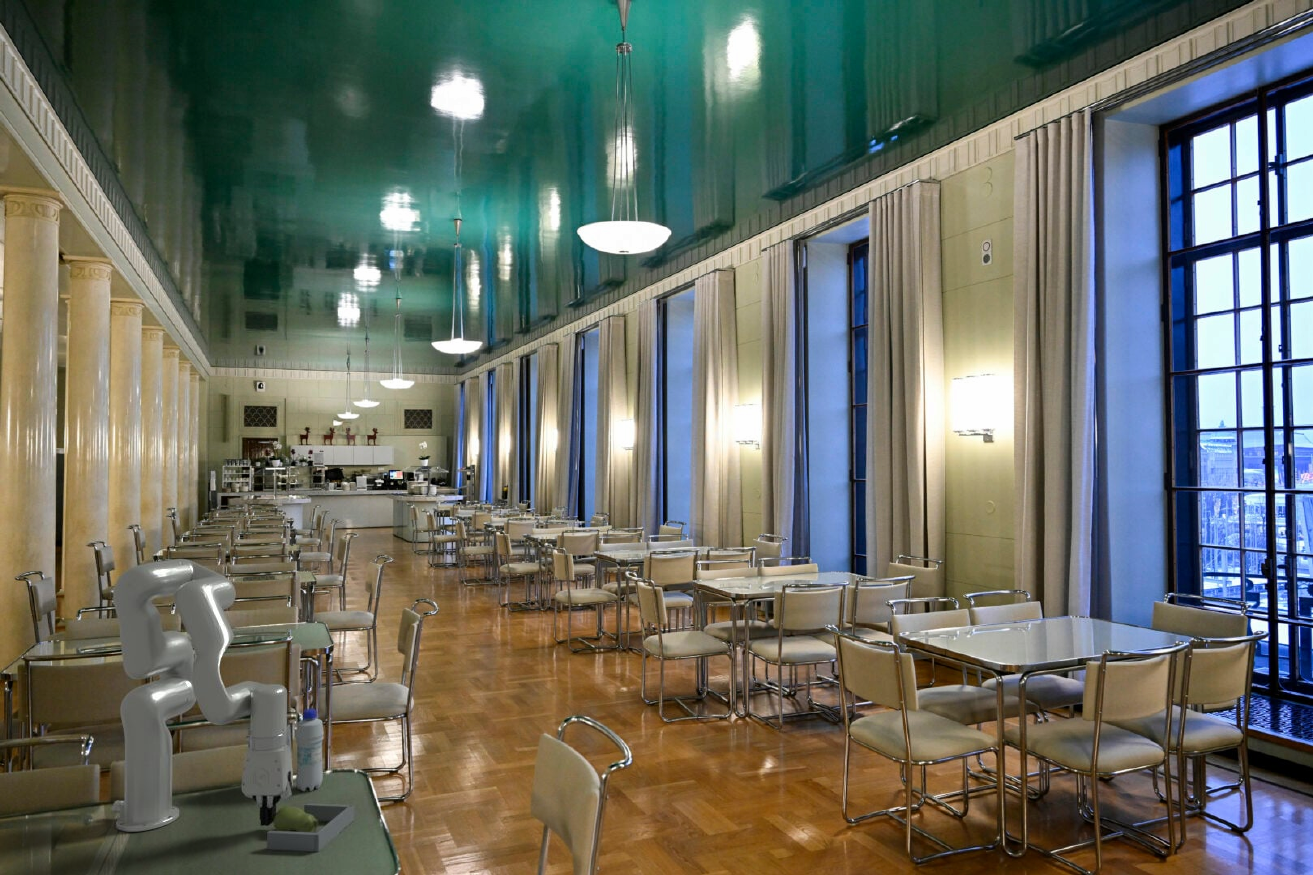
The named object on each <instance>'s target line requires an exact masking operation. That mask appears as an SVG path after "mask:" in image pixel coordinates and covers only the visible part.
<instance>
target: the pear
mask: <svg viewBox="0 0 1313 875" xmlns="http://www.w3.org/2000/svg"><path fill="white" fill-rule="evenodd" d="M273 826H274V829H275V830H276V831H288V832H293V831H295V832H311V833H315V831H316V830H317V828H318V826H319V821H318V820H317V819H315V817H314V816H313V815H311V814H307V813H305V812H304V809H302V808H299V807H296V806H293V805H292V806H287V805H286V806H283V807H281V808H279V809H278V811H276V815H275V817H274V822H273Z"/></svg>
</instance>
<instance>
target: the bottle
mask: <svg viewBox="0 0 1313 875" xmlns="http://www.w3.org/2000/svg"><path fill="white" fill-rule="evenodd" d="M317 717H318V713H317V710H316V708H315V709H314V708H307V709H305V710H304V711H303V712H302V720H301V721H298V722H297V725H296V733H295V742H296V744H297V746H296V747H297V748H296V751H297V752H296V756H297V757H296V760H297V761H296V764H297V765H296V778H295V782H296V787H297V789H298V790H299V791H302V792H306V791H307V788H309V791H310V792H313V791H314V789H315V790H318V789H319V788H320V787H321V785H322V783H323V778H324V774H323V773H324V772H323V740H324V738H325V737H324V734H325V731H324V726H323V721H322V720H321V719H319V718H317Z"/></svg>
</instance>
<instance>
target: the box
mask: <svg viewBox="0 0 1313 875" xmlns="http://www.w3.org/2000/svg"><path fill="white" fill-rule="evenodd" d="M303 807H304V808H303V811H304V812H305V813H307V814H311V815H313V816H314V817H315V819H317V820H318V822H327V824H326V825H325V826H323V827H322V828H321V829H320V830H318V831H317V832H312V833H311V832H297V831H278V830H269V831H267V832H266V834H267V835H266V850H278V851H296V852H297V851H298V852H317V853H318V852H319V853H320V851H322V850H323V848H325V847H326V846H327V845H329V843H330V842H332V841H333V840H334V839H335V838H336V837H337V836H338V835H339V834H341V833H342V832H343V831H344V830H345V829H346V828H347V827H349V826H350V825H351V824H352V823H353V822H354V821H355V804H334V803H333V804H332V803H331V804H329V803H309V802H307V803H305V804H304V805H303ZM353 820H354V821H353ZM352 821H353V822H352ZM351 822H352V823H351ZM350 823H351V824H350ZM349 824H350V825H349ZM348 825H349V826H348ZM346 826H347V827H346ZM345 827H346V828H345ZM344 828H345V829H344ZM343 829H344V830H343ZM342 830H343V831H342ZM341 831H342V832H341ZM340 832H341V833H340Z"/></svg>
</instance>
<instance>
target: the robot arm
mask: <svg viewBox="0 0 1313 875" xmlns="http://www.w3.org/2000/svg"><path fill="white" fill-rule="evenodd" d="M236 592H237V591H236V587H235V586H234V584H233V583H232V582H231V581H230V579H228V578H227V577H226V576H224V575H222V574H221V573H218V572H217V571H215V570H212V569H210V568H208V567H206V566H204V565H202V564H200V563H197V562H195V561H193V560H190V559H186V558H185V559H184V558H175V559H168V560H161V561H160V560H159V561H154V562H147V563H141V564H139V565H136V566H133V567H131V568H129V569H127V570H125V571H124V572H123V573H122V574H120V576H119V577H118V578H117V580H116V582H115V584H114V586H113V592H112V598H113V604H114V608H115V609H114V610H115V612H116V615H117V621H118V625H119V626H118V627H119V628H118V629H119V639H120V647H121V648H120V649H121V658H122V665H123V669H124V672H125V674H126V675H127V676H128V677H129V678H131V679H133V680H142V679H143V680H144V679H149V678H152V677H155V676H158V675H159V680H154V681H151V682H148V683H145V684H142V685H139V686H137V687H135V688H134V689H132V690H130V691H129V692H128V693H127V694H126V695H125V696H124V698H123V699H122V700H121V704H120V707H119V709H120V710H119V711H120V713H119V714H120V718H121V721H122V728H123V732H124V797H123V798H124V800H118V799H117V800H115V801H114V802H113V805H112V806H111V808H110V813H112V814H113V813H114V814H118V813H119V818H117V820H116V822H115V826H116V827H115V828H116V829H118V830H119V831H121V830H122V831H121V832H127V833H129V832H130V833H137V832H143V831H149V830H150V831H151V830H154V829H158V828H162V827H164V826H166V825H169V824H171V823H173V822H174V821H176V820H177V819H178V818H179V817H180V809H179V808H178V807H176V806H174V805H173V738H172V735H171V732H170V730H169V728H168V726H167V725H166V722H167V720H169V719H170V720H171V719H173V718H175V717H178V716H180V715H182V714H184V713H187V712H188V711H190V709H192V707H194V705H195V703H196V702H197V704H198V707H199V709H200V711H201V714H202V715H203V716H204V718H205V719H206V720H207V721H208V722H209V723H210V724H213V725H215V726H224V725H227V724H230V723H233V722H235V721H238V720H239V719H241V718H244V717H246V716H250V727H251V735H250V736H249V735H248V734H247V736H246V737H245V741H246V742H247V743H248V742H250V748H248V747H247V748H246V752H245V755H244V760H243V765H242V771H241V772H242V774H241V775H242V776H241V792H242V793H243V794H244V796H245V797H246V798H250V799H252V800H254V802H255V803H256V805H257V808H259V820H260V823H259V824H260V826H262V827H264V826H265V827H268V826H270V825H272V823H273V824H274V817H275V815H276V813H277V804H279V802H280V801H282V800H284V799H285V800H286V799H289V798H290V797H291V796H292V795H293V794H292V790H291V789H292V787H293V785H294V771H293V770H294V768H293V769H292V758H291V752H290V748H289V745H287V722H288V690H287V688H286V687H285V686H284V685H283V684H273V683H271V684H264V683H261V682H260V683H259V682H256V681H252V680H246V681H242V682H238V683H237V684H234V685H230V686H228V687H225V684H224V681H223V680H222V676H221V672H220V670H221V668H220V666H221V660H222V658H223V655H224V653H225V652H226V650H227V649H228V647H229V646H230V645H231V643H233V641H234V638H235V635H234V632H233V630H232V627H231V625H230V623H229V621H228V618H227V616H226V613H225V611H224V610H227V609H229V608H230V607H231V606H232V605H233V604H234V602H235V600H236V595H237V594H236ZM169 596H170V597H171V596H173V600H174V604H175V607H176V610H177V613H178V615H179V618H180V619H181V621H182V624H183V627H184V629H185V631H186V633H187V635H186V634H184V633H182V632H180V631H178V630H167V631H164V630H163V627H162V626H163V625H162V618H161V614H160V611H159V610H158V608H157V606H155V604H154V603H153V602H152V601H153V600H154V599H155V600H156V599H159V598H160V599H161V598H165V597H169ZM187 636H188V637H187ZM292 784H293V785H292Z"/></svg>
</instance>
